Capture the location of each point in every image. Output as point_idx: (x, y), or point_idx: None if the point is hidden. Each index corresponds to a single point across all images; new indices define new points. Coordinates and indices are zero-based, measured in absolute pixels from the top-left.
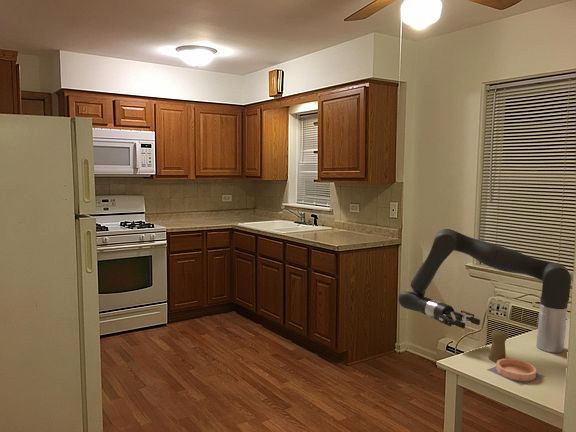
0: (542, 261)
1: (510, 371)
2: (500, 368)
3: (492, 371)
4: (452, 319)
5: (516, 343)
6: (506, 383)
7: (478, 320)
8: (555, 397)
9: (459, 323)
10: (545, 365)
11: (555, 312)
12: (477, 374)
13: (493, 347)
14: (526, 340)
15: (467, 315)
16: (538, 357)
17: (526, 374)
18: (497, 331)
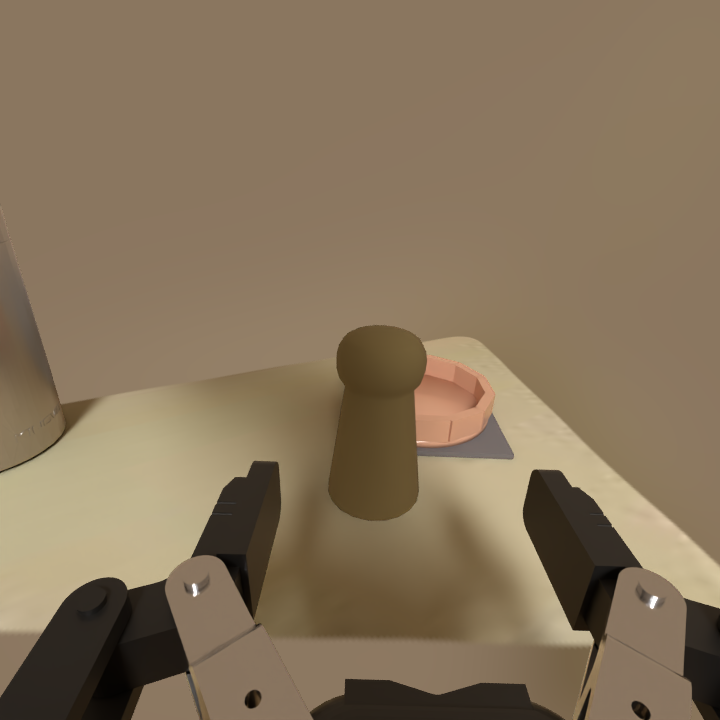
0: None
1: (477, 376)
2: (494, 396)
3: (500, 439)
4: (676, 666)
5: None
6: (506, 399)
7: (277, 468)
8: (431, 344)
9: (602, 515)
10: (243, 397)
11: (1, 211)
12: (582, 460)
13: (415, 421)
14: None
15: (233, 621)
16: (171, 427)
17: (439, 357)
18: (392, 335)
